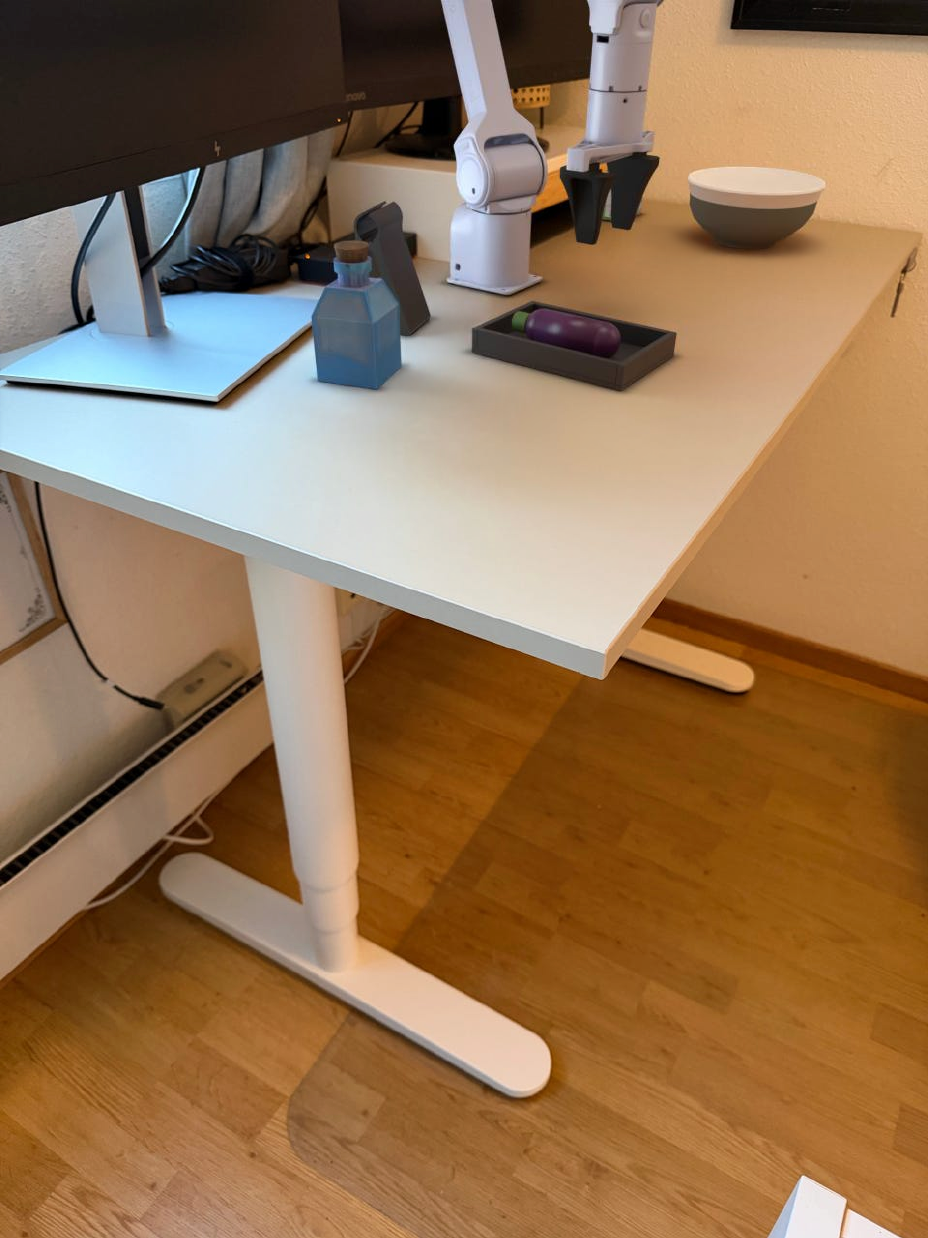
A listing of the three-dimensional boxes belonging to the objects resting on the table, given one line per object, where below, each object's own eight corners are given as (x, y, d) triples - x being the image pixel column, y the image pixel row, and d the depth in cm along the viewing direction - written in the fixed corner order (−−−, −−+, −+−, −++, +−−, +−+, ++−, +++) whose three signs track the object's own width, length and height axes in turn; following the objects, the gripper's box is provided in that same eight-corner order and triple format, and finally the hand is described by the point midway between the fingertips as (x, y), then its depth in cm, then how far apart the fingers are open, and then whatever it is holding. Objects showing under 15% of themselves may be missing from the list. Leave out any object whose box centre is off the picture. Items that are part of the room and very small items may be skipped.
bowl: (830, 258, 121) (845, 192, 116) (692, 257, 122) (702, 191, 117) (791, 225, 136) (803, 166, 132) (669, 224, 137) (676, 165, 132)
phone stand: (431, 319, 101) (429, 204, 94) (410, 335, 96) (406, 216, 89) (359, 310, 103) (351, 197, 96) (335, 326, 99) (325, 209, 92)
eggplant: (509, 345, 94) (504, 315, 91) (528, 325, 96) (523, 295, 93) (610, 370, 88) (608, 339, 86) (628, 349, 90) (626, 318, 87)
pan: (471, 352, 92) (471, 328, 91) (530, 323, 100) (531, 300, 98) (621, 391, 84) (623, 365, 83) (673, 356, 92) (677, 332, 90)
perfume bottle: (401, 366, 89) (396, 239, 82) (376, 389, 84) (368, 256, 77) (345, 358, 91) (335, 233, 84) (317, 380, 86) (304, 250, 79)
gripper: (618, 99, 81) (603, 256, 89) (687, 85, 90) (668, 227, 99) (552, 93, 84) (543, 244, 93) (625, 79, 94) (612, 218, 102)
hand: (604, 235), depth 96 cm, fingers open, 7 cm apart
